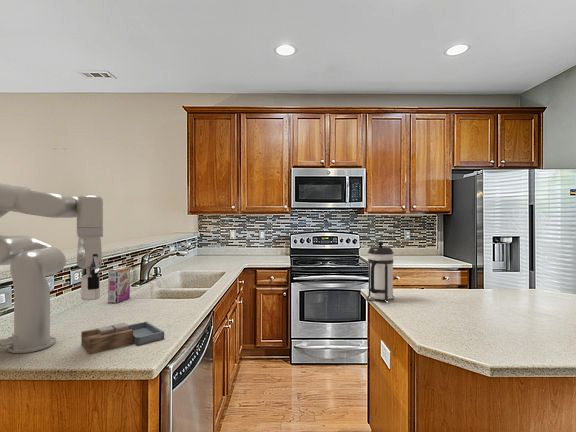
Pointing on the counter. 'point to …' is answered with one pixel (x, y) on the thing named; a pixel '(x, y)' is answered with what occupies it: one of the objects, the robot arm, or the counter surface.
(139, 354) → the counter surface
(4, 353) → the counter surface
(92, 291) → the eye dropper bottle
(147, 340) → the tray
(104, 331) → the chip
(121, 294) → the candy bar box
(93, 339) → the slot block
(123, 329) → the chip
